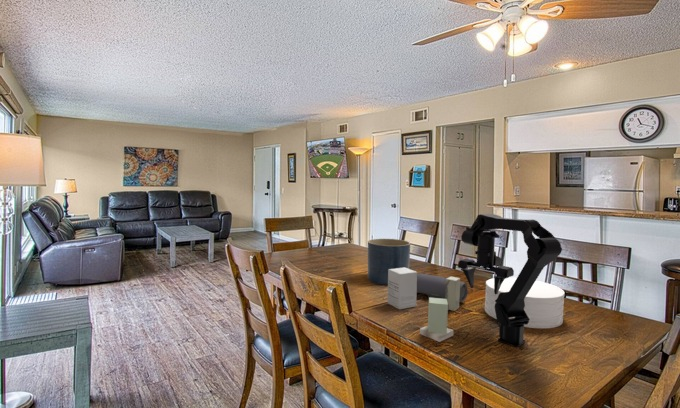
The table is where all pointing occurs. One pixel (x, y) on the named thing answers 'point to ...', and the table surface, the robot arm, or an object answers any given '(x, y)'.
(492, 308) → the plate stack
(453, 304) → the box
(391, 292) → the supplement box
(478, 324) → the table surface
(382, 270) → the planter
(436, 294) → the bluetooth speaker
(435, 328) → the green block
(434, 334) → the base block
